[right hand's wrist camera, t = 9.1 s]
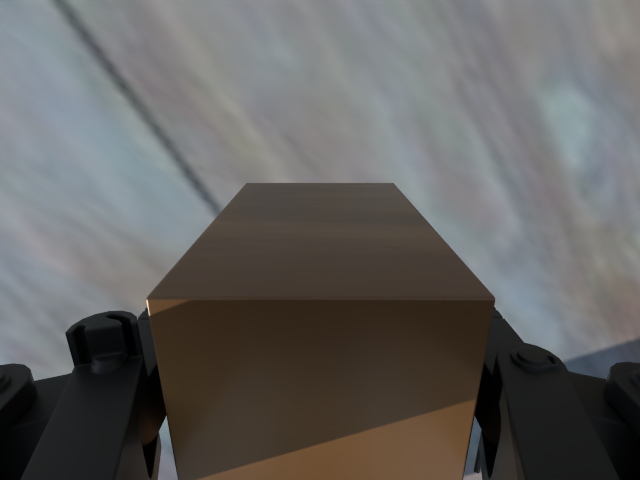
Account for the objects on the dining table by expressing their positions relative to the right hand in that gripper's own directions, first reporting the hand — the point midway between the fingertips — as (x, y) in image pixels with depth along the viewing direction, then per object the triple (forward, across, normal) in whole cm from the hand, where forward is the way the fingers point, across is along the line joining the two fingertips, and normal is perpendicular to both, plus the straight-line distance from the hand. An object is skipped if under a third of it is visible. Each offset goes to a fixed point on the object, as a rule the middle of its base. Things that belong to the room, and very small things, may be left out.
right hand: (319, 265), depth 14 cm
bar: (+1, 0, -8) cm, 8 cm away
